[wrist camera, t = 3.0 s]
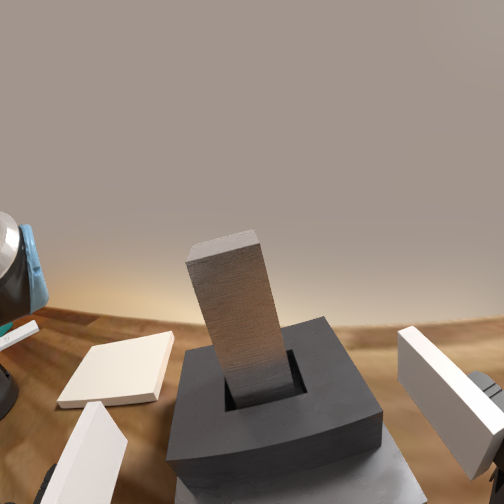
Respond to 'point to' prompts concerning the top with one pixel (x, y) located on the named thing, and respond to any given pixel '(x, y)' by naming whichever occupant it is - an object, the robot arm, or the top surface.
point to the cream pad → (120, 372)
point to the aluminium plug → (241, 317)
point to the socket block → (287, 434)
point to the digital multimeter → (5, 328)
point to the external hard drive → (18, 334)
